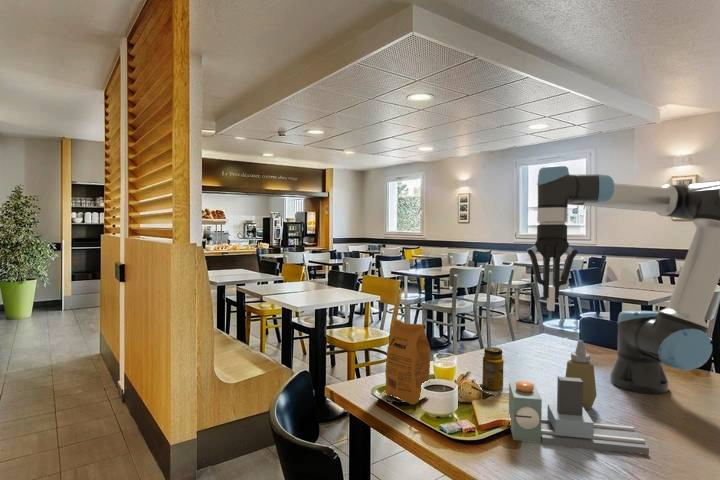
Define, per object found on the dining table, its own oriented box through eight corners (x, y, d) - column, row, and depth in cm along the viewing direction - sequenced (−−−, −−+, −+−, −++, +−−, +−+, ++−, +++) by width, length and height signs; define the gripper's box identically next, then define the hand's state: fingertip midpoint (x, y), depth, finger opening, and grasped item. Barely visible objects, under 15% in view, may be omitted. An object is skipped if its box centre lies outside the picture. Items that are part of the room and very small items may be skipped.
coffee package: (402, 386, 135) (403, 315, 134) (434, 398, 126) (435, 322, 125) (379, 394, 128) (379, 320, 128) (411, 408, 119) (411, 327, 118)
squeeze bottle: (595, 414, 115) (596, 346, 114) (561, 407, 119) (562, 342, 119) (597, 403, 122) (598, 339, 121) (565, 397, 126) (566, 335, 126)
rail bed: (629, 431, 106) (629, 422, 106) (648, 454, 95) (649, 445, 95) (534, 422, 111) (534, 414, 110) (542, 443, 100) (542, 434, 100)
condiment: (509, 389, 133) (509, 350, 132) (490, 395, 128) (491, 354, 128) (490, 382, 139) (490, 344, 138) (471, 387, 134) (471, 348, 134)
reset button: (532, 395, 107) (532, 382, 107) (534, 402, 103) (534, 388, 103) (514, 394, 108) (514, 380, 108) (516, 400, 104) (517, 386, 104)
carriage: (582, 420, 107) (583, 373, 107) (593, 438, 98) (594, 387, 98) (547, 417, 109) (548, 371, 109) (555, 435, 100) (556, 384, 100)
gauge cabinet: (533, 423, 110) (534, 383, 110) (541, 443, 100) (542, 400, 99) (508, 420, 111) (509, 382, 111) (513, 441, 101) (514, 398, 101)
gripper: (574, 223, 122) (572, 308, 123) (524, 223, 125) (523, 306, 126) (581, 223, 114) (580, 313, 115) (528, 223, 117) (527, 311, 118)
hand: (550, 309), depth 120 cm, fingers closed
